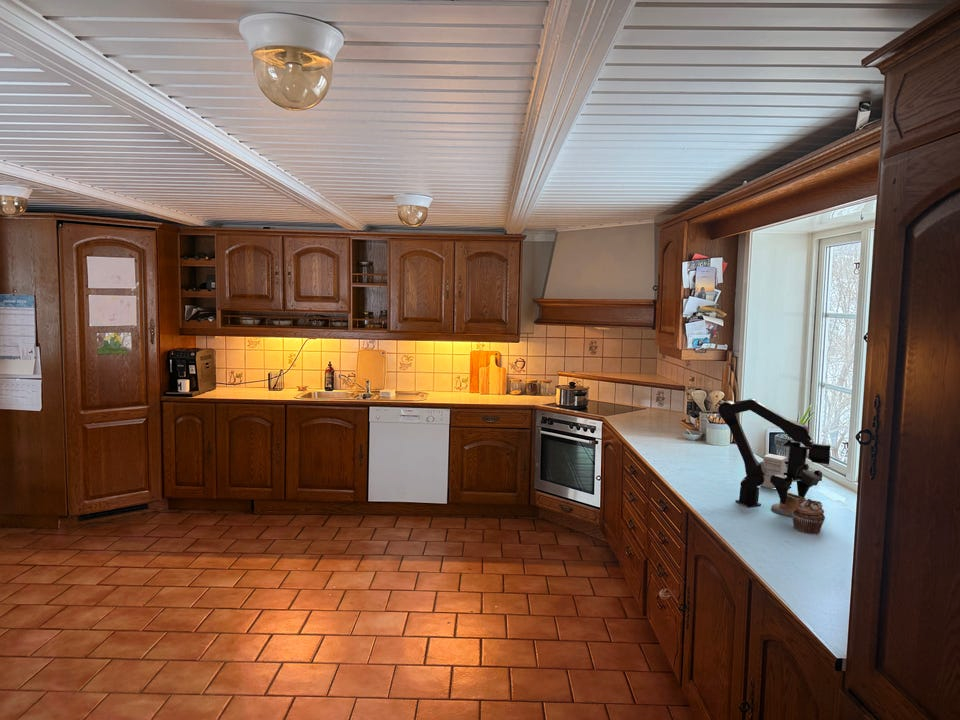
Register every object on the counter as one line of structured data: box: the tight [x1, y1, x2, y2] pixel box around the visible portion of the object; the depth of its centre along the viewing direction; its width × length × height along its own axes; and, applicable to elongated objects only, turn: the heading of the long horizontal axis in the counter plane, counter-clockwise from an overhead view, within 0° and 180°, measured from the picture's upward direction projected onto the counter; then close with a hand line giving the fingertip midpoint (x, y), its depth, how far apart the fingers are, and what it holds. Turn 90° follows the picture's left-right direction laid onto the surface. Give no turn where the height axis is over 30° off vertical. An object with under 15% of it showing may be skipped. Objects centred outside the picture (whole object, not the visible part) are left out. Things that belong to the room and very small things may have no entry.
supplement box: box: [760, 453, 788, 489], centre depth 268 cm, size 7×7×13 cm
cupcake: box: [792, 498, 826, 535], centre depth 216 cm, size 10×10×10 cm
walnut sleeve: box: [778, 492, 806, 512], centre depth 235 cm, size 7×4×5 cm, turn 27°
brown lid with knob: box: [771, 503, 793, 518], centre depth 235 cm, size 13×13×4 cm
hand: (792, 502), depth 235 cm, fingers open, 9 cm apart
